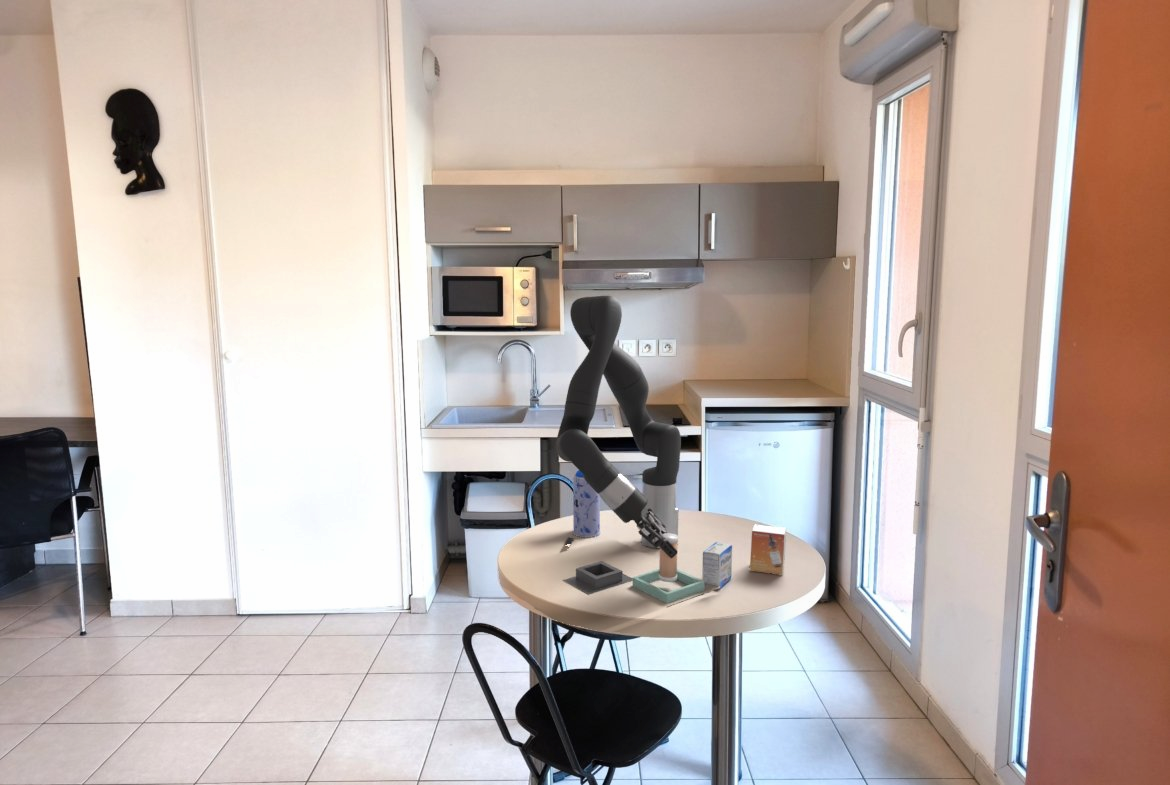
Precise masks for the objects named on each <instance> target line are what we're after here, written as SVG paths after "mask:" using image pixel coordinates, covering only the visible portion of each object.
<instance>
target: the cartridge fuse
mask: <svg viewBox="0 0 1170 785" xmlns="http://www.w3.org/2000/svg"><path fill="white" fill-rule="evenodd" d="M663 536H664V537H665V538H666V539H667V540H668V541H669V542H670V543H671V544H672V545H673V546H674V548H675V549H676V550H677V551H678V548H679V547H678V546H679V535H678V536H677V535H675V534H671V533H664V534H663ZM658 568H659V579H658V580H660V581H662V582H666V583H673V582H677V581H678V580H677V570H678V553H677V554H676V555H675V556H674V557H673V558H670V557H669V556H668V555H667V554H666V553H665V552H664V551H663V550H662V549H661V548H659V567H658Z"/></svg>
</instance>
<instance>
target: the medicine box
mask: <svg viewBox="0 0 1170 785" xmlns="http://www.w3.org/2000/svg"><path fill="white" fill-rule="evenodd" d="M732 561H733V545H732V544H730V543H726V542H718V541H715V542H714V543H712V544H711V545H709V547H708V548H706V549H705V550H704V551H702V570H701V571H702V575H701V577H702V579H701V580H702V581H704V584H707V585H711V586H716V587H718V588H717V590H718V591H719V590H721V589H722V588H723V587H724V586H725V585H726V584H727V583H728V582H729V581H730V580H731V579H732V567H733V566H732V563H733V562H732Z"/></svg>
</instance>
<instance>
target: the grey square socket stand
mask: <svg viewBox="0 0 1170 785" xmlns="http://www.w3.org/2000/svg"><path fill="white" fill-rule="evenodd" d="M562 582H564V583H566V584H568V585H569V586H572V587H573V588H575V589H577V590H579V591H581V592H582V593H584V594H586V595H588V596H590V595H593V594H595V593H598V592H601V591H604V590H607V589H610V588H614V587H617V586H620V585H624V584H626V583H630V582H633V577H631V576H629V575H627V574H625V573H623V571H622V570H621V569H619V568H617V567H615V566H612V565H611V564H608V563H606V562H605V561H602V560H601V561H597V562H594V563H591V564H587V565H584V566H580V567H576V568H575V576H572V577H569V578H566V579H562Z"/></svg>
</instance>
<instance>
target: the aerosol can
mask: <svg viewBox="0 0 1170 785" xmlns="http://www.w3.org/2000/svg"><path fill="white" fill-rule="evenodd" d="M572 480H573V491H572V492H573V498H572V499H573V503H572V504H573V505H572V506H573V516H572V517H573V519H572V520H573V525H572V526H573V530H572V535H573V534H574V536H575V535H576V537H577V536H580V537H579V538H581V537H585V538H584V539H587V538H586V537H592V538H595V536H596V537H598V536H600V535H601V530H600V529H601V518H600V517H601V497H600V496H599V495H598V493H597V492H596V491H595V490H594V489H593V488H592V487H591V486H590V485H589V484H588V483H587V482H586V480H585V479H584V477H583V474H582V473H581V472H580V471H579V469H578V470H577V471H576V472H575V473H574V474H573V479H572Z"/></svg>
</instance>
